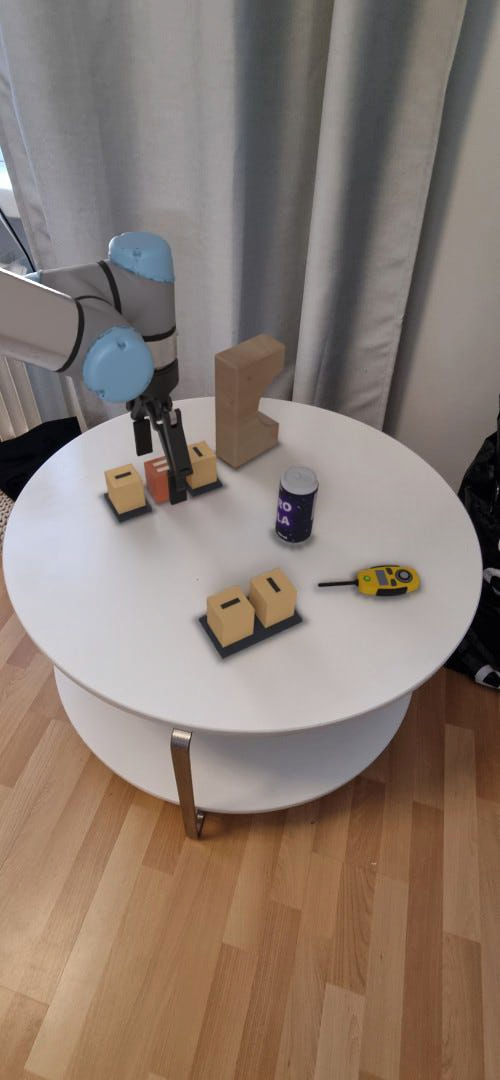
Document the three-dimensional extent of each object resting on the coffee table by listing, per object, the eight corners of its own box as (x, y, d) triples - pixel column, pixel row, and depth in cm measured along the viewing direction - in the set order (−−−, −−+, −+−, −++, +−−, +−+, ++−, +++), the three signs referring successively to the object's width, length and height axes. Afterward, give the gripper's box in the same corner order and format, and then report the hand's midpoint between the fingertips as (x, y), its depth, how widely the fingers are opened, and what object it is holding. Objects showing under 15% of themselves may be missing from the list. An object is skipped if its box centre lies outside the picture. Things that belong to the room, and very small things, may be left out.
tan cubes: (119, 522, 93) (113, 493, 89) (104, 496, 97) (98, 467, 93) (222, 487, 100) (222, 458, 95) (204, 463, 104) (203, 435, 99)
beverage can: (285, 516, 95) (291, 458, 87) (316, 529, 94) (326, 471, 85) (268, 537, 92) (273, 479, 83) (300, 552, 90) (309, 494, 81)
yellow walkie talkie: (424, 586, 84) (321, 593, 82) (421, 595, 85) (320, 601, 84) (414, 561, 87) (315, 567, 86) (411, 569, 88) (313, 576, 87)
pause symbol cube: (157, 503, 96) (154, 478, 92) (146, 487, 99) (143, 461, 95) (183, 495, 98) (181, 469, 94) (171, 479, 101) (169, 453, 97)
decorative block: (258, 430, 111) (263, 331, 97) (279, 444, 108) (287, 344, 94) (213, 454, 106) (212, 353, 91) (234, 470, 103) (236, 368, 88)
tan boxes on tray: (222, 659, 77) (222, 632, 72) (198, 620, 81) (197, 592, 76) (302, 622, 81) (306, 594, 77) (276, 587, 85) (279, 559, 81)
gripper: (216, 396, 75) (216, 516, 90) (141, 314, 89) (152, 429, 105) (162, 411, 72) (171, 532, 87) (93, 324, 86) (112, 441, 102)
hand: (160, 476), depth 96 cm, fingers open, 13 cm apart
